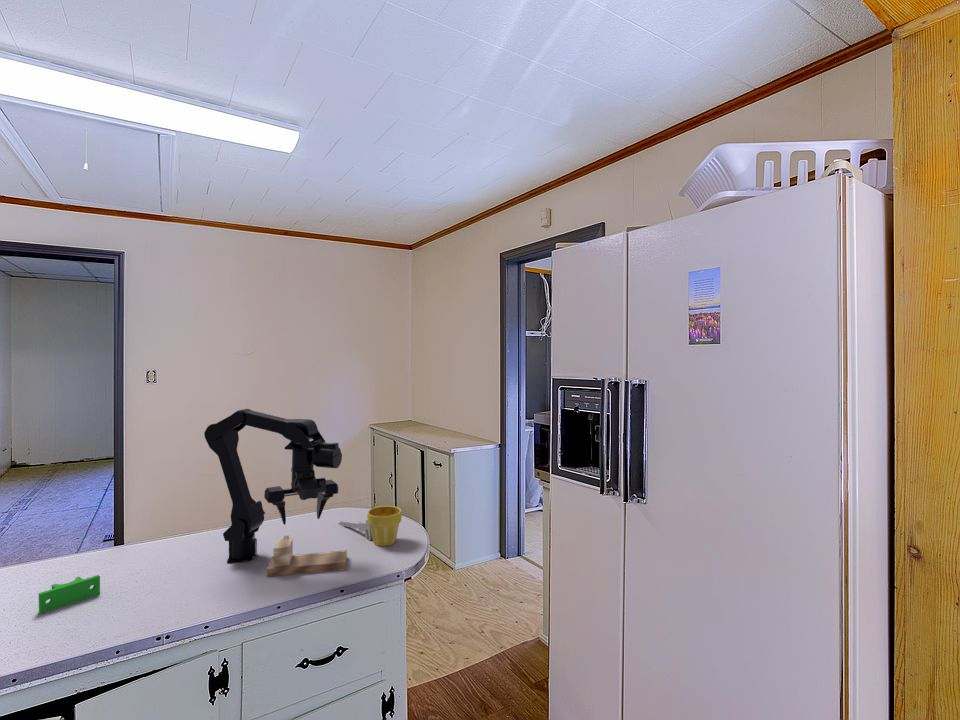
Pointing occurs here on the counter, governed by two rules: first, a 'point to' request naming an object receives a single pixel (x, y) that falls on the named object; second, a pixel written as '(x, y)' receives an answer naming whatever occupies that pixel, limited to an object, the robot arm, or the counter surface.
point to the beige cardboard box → (283, 552)
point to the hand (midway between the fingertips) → (301, 521)
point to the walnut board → (310, 563)
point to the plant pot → (384, 524)
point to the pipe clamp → (68, 593)
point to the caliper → (359, 527)
